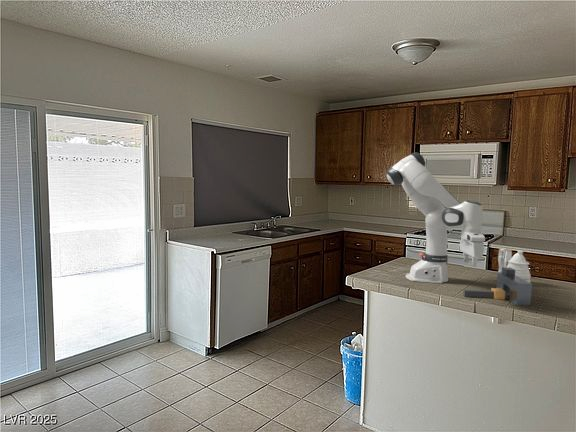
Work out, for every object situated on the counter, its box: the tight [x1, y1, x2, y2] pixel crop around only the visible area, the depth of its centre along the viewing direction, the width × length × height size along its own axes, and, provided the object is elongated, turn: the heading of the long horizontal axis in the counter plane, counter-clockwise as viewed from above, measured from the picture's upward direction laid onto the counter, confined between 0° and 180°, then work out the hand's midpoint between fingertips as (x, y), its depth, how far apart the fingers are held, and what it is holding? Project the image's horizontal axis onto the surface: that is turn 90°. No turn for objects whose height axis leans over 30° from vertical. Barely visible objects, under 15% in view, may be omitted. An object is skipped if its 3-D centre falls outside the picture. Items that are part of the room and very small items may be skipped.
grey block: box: [496, 267, 533, 307], centre depth 194 cm, size 6×21×13 cm, turn 176°
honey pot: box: [507, 250, 532, 283], centre depth 223 cm, size 13×13×18 cm
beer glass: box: [497, 248, 513, 273], centre depth 241 cm, size 7×7×15 cm
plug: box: [462, 287, 506, 300], centre depth 195 cm, size 18×4×4 cm, turn 86°
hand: (469, 264), depth 194 cm, fingers open, 8 cm apart
